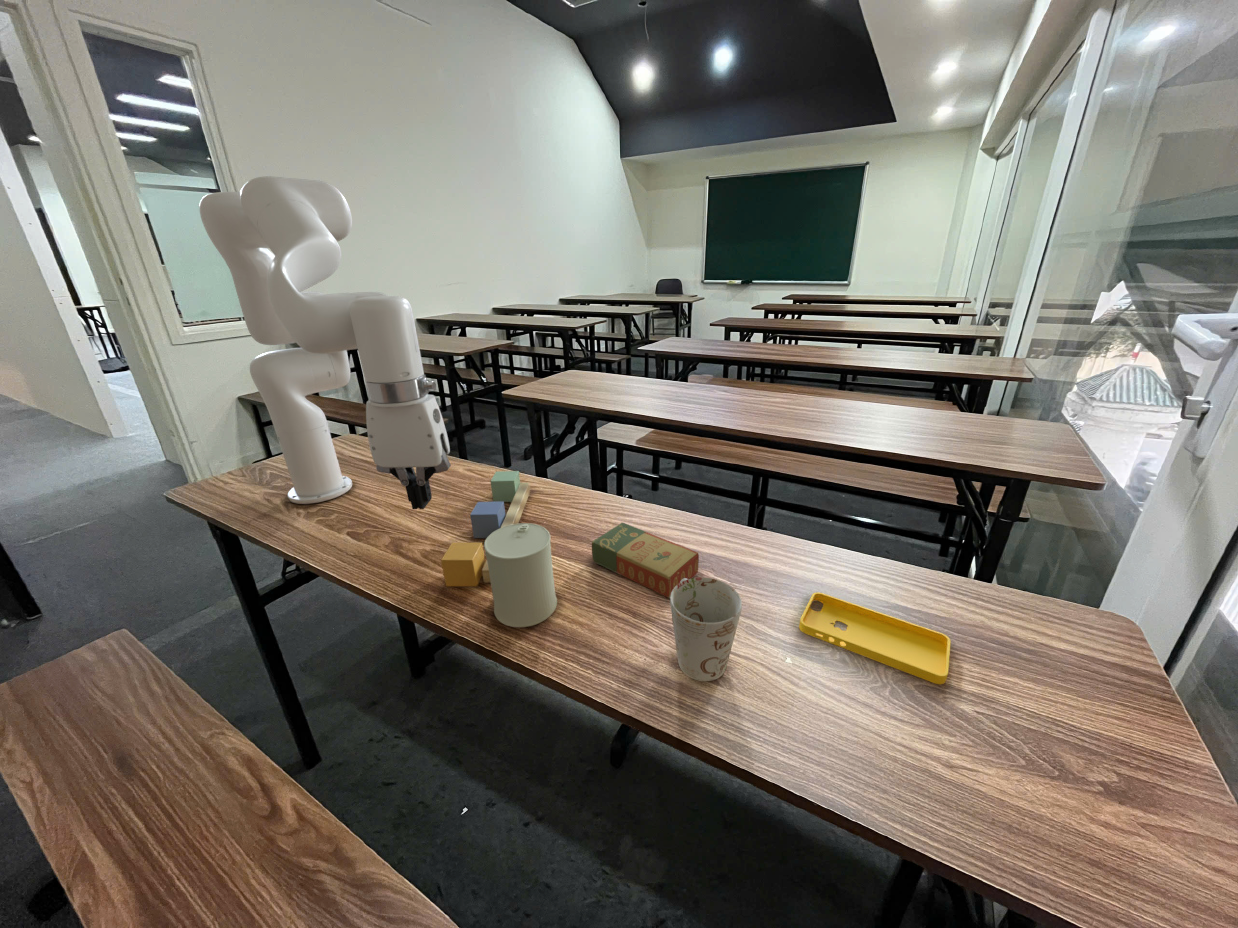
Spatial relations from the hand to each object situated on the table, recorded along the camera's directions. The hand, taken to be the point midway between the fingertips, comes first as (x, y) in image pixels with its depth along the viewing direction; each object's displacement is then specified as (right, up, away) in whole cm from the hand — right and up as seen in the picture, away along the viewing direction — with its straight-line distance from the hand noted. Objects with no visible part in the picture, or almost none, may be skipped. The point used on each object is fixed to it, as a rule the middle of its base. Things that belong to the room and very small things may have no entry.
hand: (421, 504), depth 74 cm
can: (+17, -15, -3) cm, 23 cm away
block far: (+6, -1, +30) cm, 30 cm away
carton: (+35, -11, +5) cm, 37 cm away
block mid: (+6, -6, +17) cm, 19 cm away
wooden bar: (+10, -6, +17) cm, 20 cm away
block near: (+6, -12, +4) cm, 14 cm away
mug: (+41, -18, -12) cm, 46 cm away
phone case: (+64, -17, -11) cm, 67 cm away
